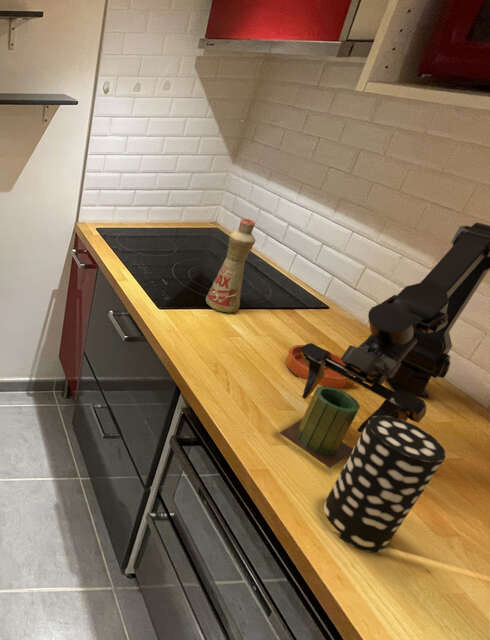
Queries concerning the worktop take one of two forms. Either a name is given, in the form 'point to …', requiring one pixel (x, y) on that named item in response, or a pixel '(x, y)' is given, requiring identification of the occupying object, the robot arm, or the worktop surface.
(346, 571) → the worktop surface
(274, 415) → the worktop surface
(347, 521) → the spotted tube
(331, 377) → the dish
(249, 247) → the bottle
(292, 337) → the worktop surface
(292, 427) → the post stand
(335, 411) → the green tube
